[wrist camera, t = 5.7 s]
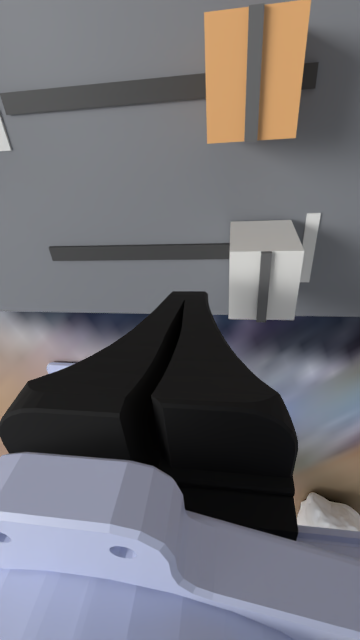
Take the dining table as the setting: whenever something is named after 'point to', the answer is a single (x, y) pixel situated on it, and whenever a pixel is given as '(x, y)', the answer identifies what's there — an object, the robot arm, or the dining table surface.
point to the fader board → (163, 159)
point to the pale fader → (264, 270)
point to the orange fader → (255, 71)
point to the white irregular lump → (327, 514)
